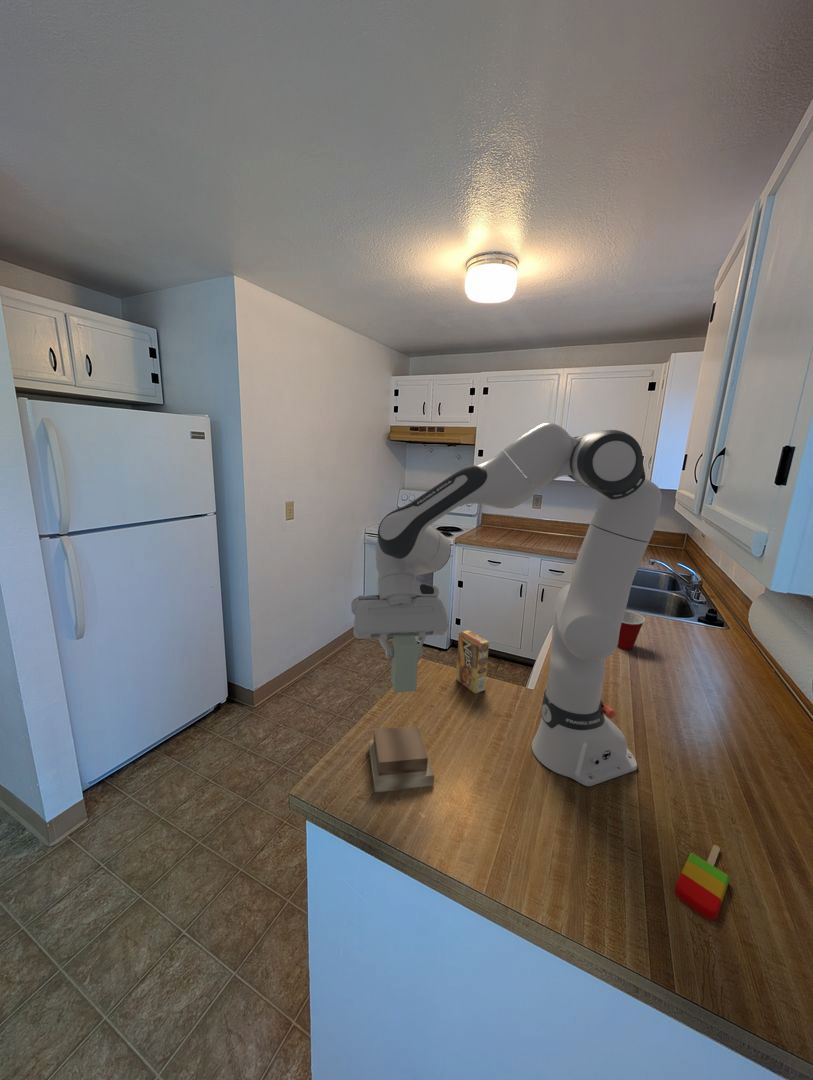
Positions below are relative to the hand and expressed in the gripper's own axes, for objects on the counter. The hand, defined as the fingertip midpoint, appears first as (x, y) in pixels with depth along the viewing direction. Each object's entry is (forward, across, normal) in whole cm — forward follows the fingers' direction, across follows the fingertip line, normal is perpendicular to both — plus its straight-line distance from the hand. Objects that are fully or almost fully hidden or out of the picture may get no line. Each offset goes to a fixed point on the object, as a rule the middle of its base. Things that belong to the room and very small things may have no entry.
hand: (404, 656), depth 83 cm
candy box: (-1, +26, +37) cm, 45 cm away
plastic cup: (-13, +90, +50) cm, 104 cm away
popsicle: (+41, +46, -4) cm, 61 cm away
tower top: (+17, 0, +16) cm, 23 cm away
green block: (+5, 0, +4) cm, 6 cm away
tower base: (+19, 0, +18) cm, 26 cm away
